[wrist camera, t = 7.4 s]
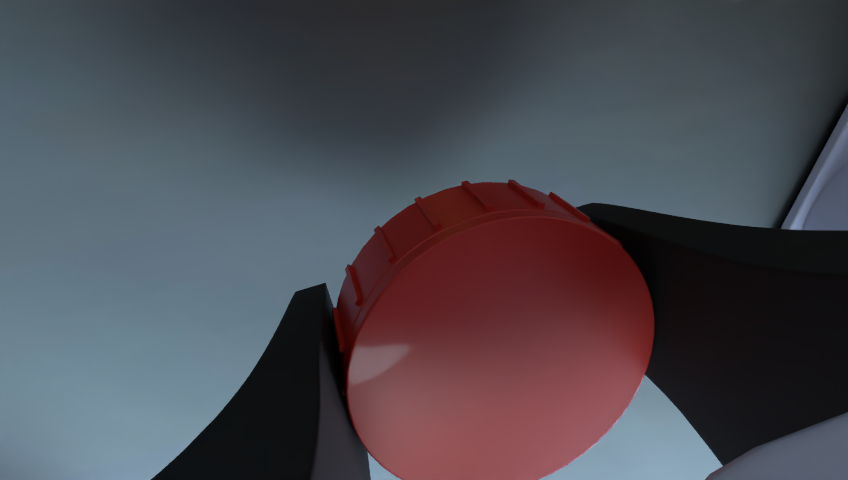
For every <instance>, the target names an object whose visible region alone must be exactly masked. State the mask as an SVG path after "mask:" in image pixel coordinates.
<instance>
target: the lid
mask: <svg viewBox="0 0 848 480" xmlns="http://www.w3.org/2000/svg"><path fill="white" fill-rule="evenodd" d="M415 201H416V203H414V204H412V205H410V206H408V207H407V208H405V209H404V210H403V211H401V212H400V213H398V214H397V215H396V216H394V217H393V218H391V219H390V220H389V221H388V222H387V223H386V224H385V225H384V226H382V227H379V226H377V227H376V228H375V229H374V231H375V234H374V235H373V236H372V238H371V239H370V240H369V241H368V242H367V243H366V245H365V246H364V247H363V248H362V250H361V251H360V253H359V254H358V256H357V257H356V259H355V260H354V262H353V263H352V265H347V267H346V269H345V270H346V274H347V276H346V278H345V280H344V282H343V285H342V288H341V291H340V294H339V297H338V302H337V308H334V307H333V308H332V312H331V313H332V318H333V323H334V329H335V334H336V341H337V349H338V355H339V361H340V368H341V374H342V392H343V395H344V396H346V403H347V408H348V412H349V415H350V418H351V422H352V425H353V427H354V429H355V431H356V433H357V435H358V437H359V439H360V441H361V443H362V444H363V445H364V447H365V448H366V450H367V451H368V452H369V454H370V455H371V456H372V457H373V458H374V459H375V460H376V461H377V462H378V463H379V464H380V465H381V466H382V467H383V468H385V469H386V470H388V471H389V472H390V473H392V474H393V475H395V476H396V477H398V478H400V479H402V480H539V479H541V478H543V477H546V476H548V475H550V474H552V473H554V472H556V471H557V470H559V469H561V468H563V467H565V466H566V465H568V464H569V463H571V462H572V461H574V460H575V459H577V458H578V457H580V456H581V455H583V454H584V453H585V452H586V451H587V450H589V449H590V448H591V447H592V446H593V445H595V444H596V443H597V442H598V441H599V440H600V439H601V438H602V437H603V436H604V435H605V434H606V433H607V432H608V431H609V430H610V429H611V428H612V427H613V426H614V424H615V423H616V422H617V421H618V419H619V418H620V417H621V416H622V415H623V413H624V412H625V410H626V409H627V407H628V406H629V404H630V403H631V401H632V400H633V398H634V396H635V394H636V392H637V390H638V389H639V387H640V385H641V383H642V380H643V378H644V375H645V373H646V370H647V368H648V364H649V360H650V357H651V353H652V348H653V340H654V310H653V304H652V298H651V295H650V292H649V289H648V286H647V283H646V281H645V279H644V277H643V275H642V273H641V271H640V269H639V267H638V266H637V265H636V263H635V262H634V261H633V259H632V258H631V257H630V255H629V254H628V253H627V252H626V251H625V250H624V249H623V248H622V246H623V245H622V244H621V243H620V242H619V241H618V240H616V239H615V238H613V237H612V236H610V235H609V234H607V233H606V232H605V231H603V230H602V229H600V228H599V227H597V226H596V225H595V224H593V223H592V222H590V221H589V220H590V218H589V217H588V216H586V215H585V214H584V213H582V212H581V211H579V210H578V209H576V208H575V207H573V206H572V205H570V204H569V203H567V202H566V201H565V200H563V199H562V198H560V197H559V196H557V195H556V194H554V193H552V192H550V194H549V195H546V194H544V193H542V192H540V191H537V190H534V189H531V188H528V187H524V186H521V185H520V184H519V183H517V182H516V181H515V180H509V181H508V183H492V182H483V183H474V184H470V183H469V182H468V181H464V182H462V185H461V186H457V187H453V188H449V189H445V190H443V191H440V192H438V193H435V194H432V195H430V196H427V197H425V198H423V199H422V198H421V197H418V198H416V199H415Z"/></svg>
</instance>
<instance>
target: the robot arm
mask: <svg viewBox="0 0 848 480" xmlns="http://www.w3.org/2000/svg"><path fill="white" fill-rule="evenodd" d="M576 209H578V210H579V211H581V212H582V213H584V214H585V215H586V216H588V217H589V218H590V220H589V221H590V222H592V223H593V224H595V225H596V226H597V227H599V228H600V229H602V230H603V231H605V232H606V233H607V234H609V235H610V236H612V237H613V238H615V239H616V240H618V241H619V242H620V243H621V244H622V245H623V246H622V248H623V249H624V250H625V251H626V252H627V253H628V254H629V255H630V257H631V258H632V259H633V261H634V262H635V263H636V265H637V266H638V267H639V269H640V271H641V273H642V275H643V277H644V279H645V281H646V283H647V286H648V289H649V292H650V295H651V298H652V304H653V310H654V340H653V348H652V353H651V357H650V360H649V364H648V368H647V370H646V373H645V375H646V376H647V377H648V378H649V379H650V380H651V381H652V382H653V383H654V384H655V385H656V386H657V387H658V388H659V389H660V390H661V391H662V392H663V393H664V394H665V395H666V396H667V397H668V398H669V399H670V400H671V402H672V403H673V404H674V405H675V406H676V407H677V408H678V409H679V410H680V411H681V413H682V414H683V415H684V416H685V418H686V419H687V420H688V421H689V423H690V424H691V425H692V426H693V428H694V429H695V430H696V432H697V433H698V434H699V435H700V437H701V438H702V439H703V440H704V442H705V443H706V444H707V445H708V447H709V448H710V449H711V450H712V452H713V453H714V454H715V456H716V457H717V458H718V460H719V461H720V462H721V464H722V465H723V467H721V468H719V469H718V470H716V471H714V472H713V473H711V474H710V475H709V476H708V477H707V478H706V479H705V480H848V104H847V106H846V108H845V110H844V112H843V114H842V115H841V117H840V119H839V121H838V123H837V125H836V127H835V128H834V130H833V132H832V134H831V136H830V138H829V140H828V141H827V143H826V145H825V147H824V149H823V151H822V152H821V154H820V156H819V158H818V160H817V162H816V164H815V165H814V167H813V169H812V171H811V173H810V175H809V177H808V178H807V180H806V182H805V184H804V186H803V188H802V190H801V191H800V193H799V195H798V197H797V199H796V201H795V202H794V204H793V206H792V208H791V210H790V212H789V214H788V215H787V217H786V219H785V221H784V223H783V225H782V227H781V228H780V229H776V228H762V227H749V226H740V225H731V224H724V223H716V222H709V221H702V220H696V219H690V218H683V217H678V216H672V215H667V214H661V213H656V212H650V211H645V210H640V209H634V208H629V207H623V206H617V205H610V204H601V203H590V204H586V205H583V206H580V207H576ZM332 308H333V304H332V301H331V298H330V295H329V292H328V289H327V286H326V283H323V284H320V285H317V286H313V287H310V288H307V289H303V290H300V291H297V292H295V294H294V296H293V297H292V299H291V301H290V303H289V305H288V308H287V310H286V312H285V314H284V316H283V318H282V320H281V322H280V324H279V326H278V328H277V330H276V332H275V333H274V335H273V337H272V339H271V341H270V343H269V344H268V346H267V348H266V350H265V352H264V353H263V355H262V356H261V358H260V360H259V361H258V363H257V364H256V366H255V367H254V369H253V371H252V372H251V374H250V375H249V377H248V378H247V379H246V381H245V382H244V384H243V385H242V386H241V388H240V389H239V390H238V391H237V393H236V394H235V395H234V396H233V398H232V399H231V400H230V401H229V403H228V404H227V405H226V406H225V407H224V409H223V410H222V411H221V412H220V413H219V414H218V416H217V417H216V418H215V419H214V420H213V421H212V422H211V423H210V424H209V425H208V426H207V427H206V428H205V429H204V430H203V431H202V432H201V433H200V434H199V435H198V436H197V437H196V438H195V439H194V440H193V441H192V442H191V443H190V445H189V446H188V447H187V448H186V449H185V450H184V451H183V452H182V453H180V454H179V455H178V456H177V457H176V458H175V459H174V460H173V461H172V462H171V463H169V464H168V465H167V466H166V467H165V468H164V469H163V470H162V471H161V472H159V473H158V474H157V475H156V476H155V477H154V478H152V479H151V480H371V479H370V470H369V461H368V453H367V450H366V448H365V447H364V445H363V444H362V443H361V441H360V439H359V437H358V435H357V433H356V431H355V429H354V427H353V425H352V422H351V418H350V415H349V412H348V408H347V403H346V396H344V395H343V392H342V374H341V368H340V361H339V355H338V349H337V341H336V334H335V329H334V323H333V318H332V313H331V312H332Z"/></svg>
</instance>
